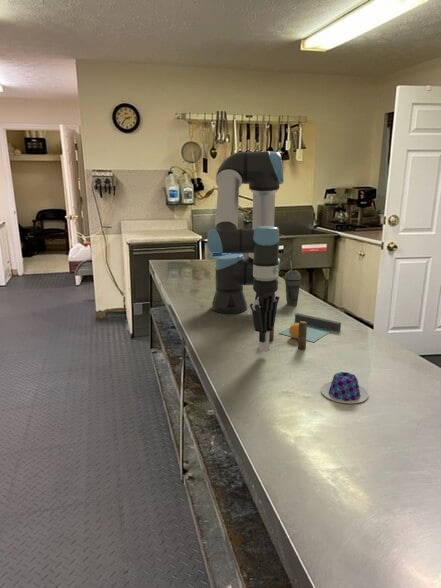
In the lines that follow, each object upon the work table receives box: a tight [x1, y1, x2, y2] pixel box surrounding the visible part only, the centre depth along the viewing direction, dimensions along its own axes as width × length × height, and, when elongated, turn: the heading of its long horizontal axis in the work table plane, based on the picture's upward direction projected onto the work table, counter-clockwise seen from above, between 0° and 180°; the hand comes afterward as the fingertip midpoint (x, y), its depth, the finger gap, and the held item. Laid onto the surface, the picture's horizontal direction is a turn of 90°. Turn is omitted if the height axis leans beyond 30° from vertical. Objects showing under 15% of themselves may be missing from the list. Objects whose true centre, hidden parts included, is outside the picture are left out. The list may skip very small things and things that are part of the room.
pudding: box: [320, 371, 369, 404], centre depth 113 cm, size 12×12×5 cm
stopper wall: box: [294, 313, 342, 333], centre depth 164 cm, size 18×2×3 cm, turn 51°
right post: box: [297, 321, 307, 351], centre depth 142 cm, size 3×3×9 cm
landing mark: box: [278, 325, 332, 343], centre depth 157 cm, size 14×14×1 cm
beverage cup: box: [284, 259, 302, 307], centre depth 189 cm, size 7×7×20 cm
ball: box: [289, 322, 299, 340], centre depth 151 cm, size 6×6×6 cm
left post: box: [269, 326, 275, 342], centre depth 150 cm, size 3×3×9 cm
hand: (264, 350), depth 137 cm, fingers closed
